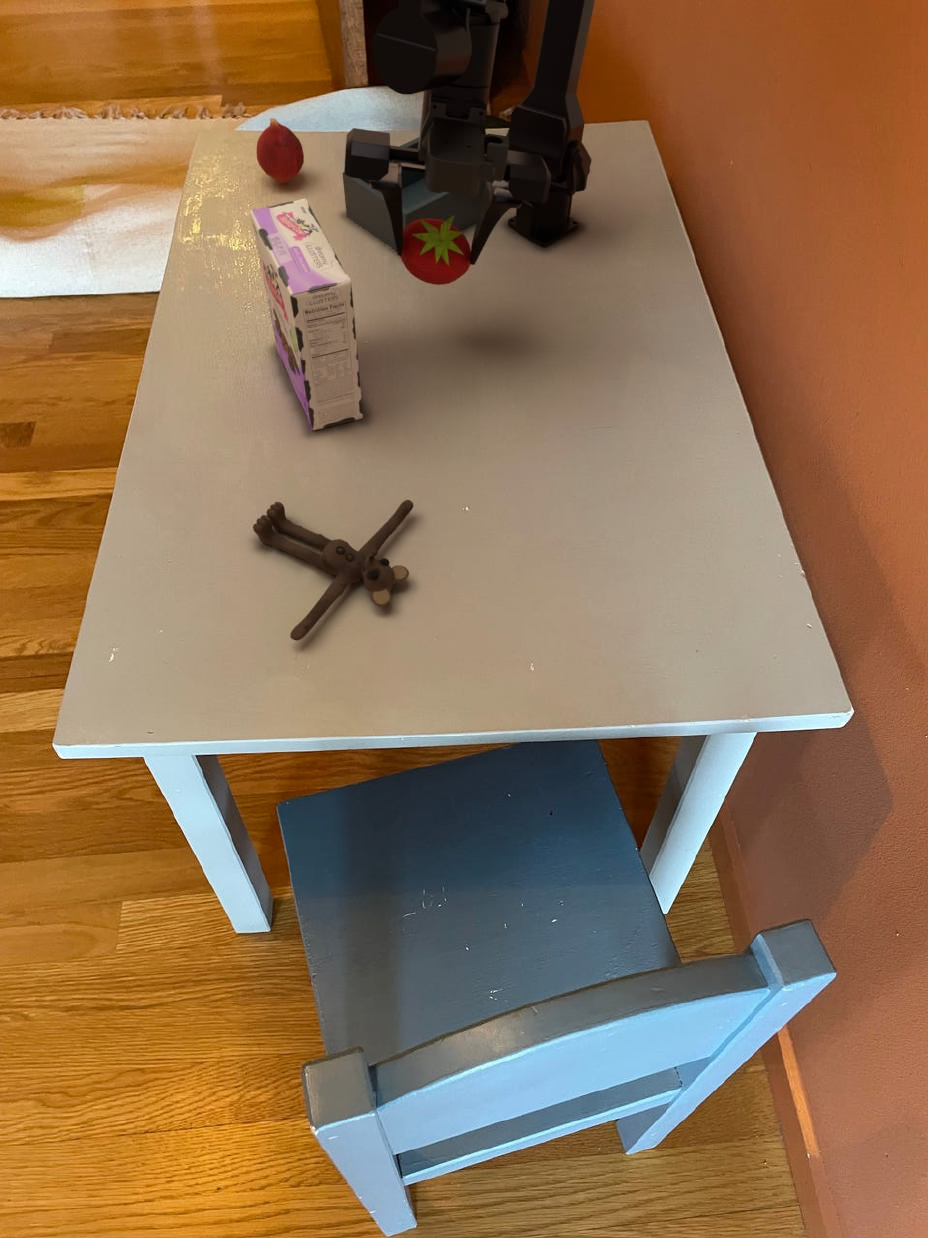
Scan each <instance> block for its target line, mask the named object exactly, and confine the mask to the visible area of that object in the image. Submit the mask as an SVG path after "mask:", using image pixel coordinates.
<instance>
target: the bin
mask: <svg viewBox="0 0 928 1238" xmlns="http://www.w3.org/2000/svg"><path fill="white" fill-rule="evenodd" d="M418 145H419V136H418V137H416V138H414V139H411V140H410V141H408V142H405V143H403V144H401V145H398V146H399V147H406V148H413V149H418ZM342 183H343V194H344V203H345V214H346V217H347V218H349V220H352V221H353V222H354V223H356V224H357V225H359V226H360V227H361V228H363V229H364V230H366V231H367V232H369V233H371V234H372V235H373V236H374V237H376V238H377V239H379V240H380V241H381V242H383V243H384V244H387V246H389V247H391V248H392V249H393V250H395V251H397V249H396V244H395V239H394V234H393V229H392V224H391V219H390V215H389V212H388V209H387V206H386V203H385V200H384V198H383V195H382V193H381V191H379V190H374V189H372V188H370V186H369V184H370V180H367V179H360V178H352V177H349V176H346V175H344V171H343V172H342ZM401 183H402V215H403V230H404V229H405V228H406V227H407V226H408V225H409V224H410V223H412V222H414V221H416V220H419V219H425V218H432V219H438V220H442V221H447V220H448V219H450V218H451V217H452V216H454V218H453V220H452V223H451V225H453V226H455V227H456V228H457V229H458V230H460V231H461V230H463V229H465V228H467V227H469V226H471V225H473V224H474V223H475V224H476V223H477V219H478V214H479V210H480V205H481V201H482V197H483V192H484V188H485V184H486V182H485V181H481V185H480V190H479V194H478V195H477V196H474V197H464V196H463V195H462V194H457V193H449V192H442V193H435V192H431V191H430V190H428V189H427V188H426V187H425V173H419V172H412V171H405V170H401Z"/></svg>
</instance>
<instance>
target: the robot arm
mask: <svg viewBox="0 0 928 1238" xmlns="http://www.w3.org/2000/svg"><path fill="white" fill-rule="evenodd" d="M506 1H507V0H398V8H394V9H393V10H390V11H388V12H387V13H386V14H385V15H384V16H383V17H382V19H381V20H380V22H379V24H378V25H377V28H376V31H375V34H374V35H373V37H372V44H371V46H372V50H371V51H372V59H373V63H374V66H375V69H376V71H377V74H378V75H379V77H380V79H381V80H382V82H383V83H384V84H385V85H386V86H387V87H388V88H389V89H390V90H392V91H394V92H395V93H397V94H401V95H408V96H409V95H414V94H419V93H422V92H423V97H422V107H421V108H422V109H421V118H420V125H419V134H418V135H419V136H418V137H419V145H418V149H413V148H406V147H399V146H400V145H391V133H390V132H385V131H377V130H370V129H364V128H357V127H352V129H351V130H349V132H348V133H346V140H345V151H344V152H345V154H344V170H343V172H344V175H346V176H349V177H352V178H360V179H367V180H370V184H369V186H370V188H372V189H374V190H379V191H381V193H382V195H383V198H384V200H385V203H386V206H387V209H388V212H389V215H390V219H391V224H392V229H393V234H394V239H395V244H396V249H397V250H396V255H397V256H398V257H400V256H402V249H403V215H402V183H401V170H405V171H412V172H419V173H425V187H426V188H427V189H428V190H430V191H431V192H435V193H442V192H449V193H457V194H462V195H463V196H464V197H474V196H477V195H478V194H479V190H480V185H481V181H485V182H486V184H485V188H484V192H483V197H482V201H481V205H480V210H479V214H478V219H477V221H476V222H475V228H474V232H473V237H472V241H471V245H470V249H471V254H470V266H475V264H476V262H477V261H478V259H479V257H480V255H481V253H482V252H483V249H484V248H485V246H486V243H487V242H488V239H489V238H490V235H491V234H492V232H493V230H494V229H495V226H497V224H498V223H499V221H500V220H501V218H502V217H503V216H504V215H505V214H506V213H507V212H508V211H510V209H515V210H516V211H515V215H514V216H512V217H510V218H508V219H507V226H508V227H511V229H514V230H515V231H517V232H518V233H520V234H521V235H523V236H524V237H526V238H528V239H530V240H531V241H533V242H534V243H536V244H537V245H539V246H541V247H546V246H548V245H551V244H552V243H554V242H555V241H558V240H559V239H561V238H562V237H564V236H566V235H568V234H570V233H571V232H572V231H575V230H577V229H578V228H579V226H580V222H579V221H578V220H576V219H574V218H572V217H571V212H572V202H573V196H574V195H575V194H576V193H579V192H584V191H585V190H586V189H587V184H588V177H589V175H590V172H591V165H592V161H593V160H592V157H591V156H590V153H589V152H588V151H587V148H586V146H585V145H584V143H583V137H584V131H585V119H584V116H583V112H582V108H581V105H580V102H579V98H578V94H577V92H578V86H579V80H580V76H581V71H582V67H583V61H584V56H585V51H586V46H587V42H588V35H589V31H590V28H591V27H590V26H591V22H592V18H593V17H592V16H593V12H594V7H595V1H596V0H547V6H546V11H545V17H544V22H543V23H544V24H543V28H542V34H541V39H540V46H539V51H538V57H537V61H536V62H537V64H536V69H535V74H534V81H533V85H532V88H531V90H530V91H529V92H528V94H527V95H526V96H525V98H524V99H523V100H522V102H521V103H520V104H516V105H515V106H514V108H513V109H512V111H511V114H510V123H509V128H508V130H507V132H506V135H502V134H494V133H487V132H486V131H487V129H486V119H487V113H488V105H489V99H490V93H491V85H492V78H493V71H494V66H495V58H496V52H497V44H498V38H499V31H500V24H501V23H500V22H501V20H503V19H507V17H508V14H509V9H508V6H507V4H506Z"/></svg>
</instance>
